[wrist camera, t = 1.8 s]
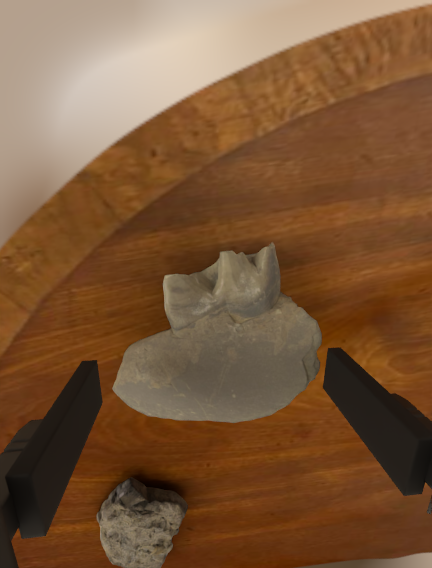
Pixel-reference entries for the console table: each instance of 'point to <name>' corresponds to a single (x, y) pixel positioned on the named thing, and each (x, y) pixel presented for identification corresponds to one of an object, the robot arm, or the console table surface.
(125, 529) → the stone
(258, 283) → the fossil
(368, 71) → the console table surface
